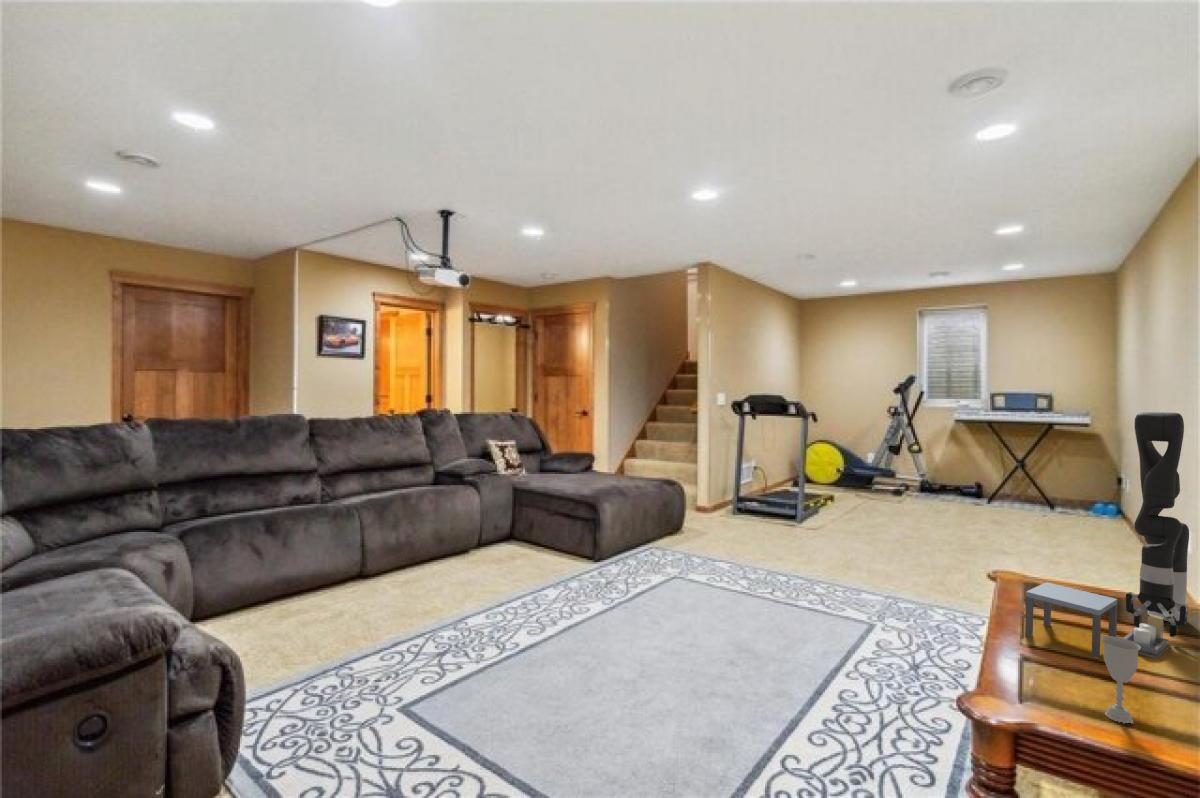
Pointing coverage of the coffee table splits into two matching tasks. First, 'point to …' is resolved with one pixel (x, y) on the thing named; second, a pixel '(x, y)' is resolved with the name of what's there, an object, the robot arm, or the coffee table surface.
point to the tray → (1152, 648)
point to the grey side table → (1075, 601)
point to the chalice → (1120, 671)
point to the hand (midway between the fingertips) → (1155, 631)
